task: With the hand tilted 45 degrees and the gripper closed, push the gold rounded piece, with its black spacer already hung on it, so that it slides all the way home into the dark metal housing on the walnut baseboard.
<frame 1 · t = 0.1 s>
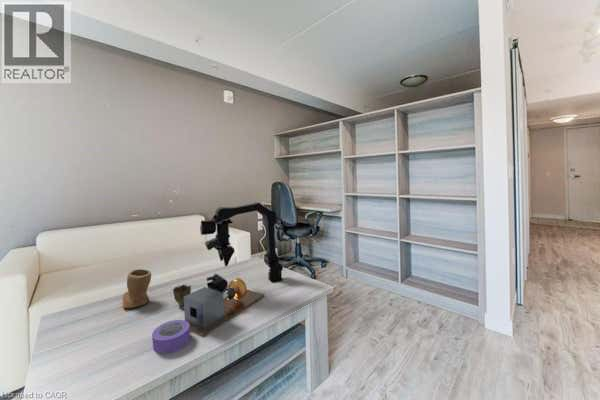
hand: (223, 263, 128), 15 cm above the table, tool pointing down, fingers open, 9 cm apart
tape roll: (172, 342, 90), on the table
brown boot: (137, 302, 119), on the table
housing: (215, 315, 106), on the table
gold rounded piece: (225, 295, 111), point 6 cm above the table, slide at 7.0 cm
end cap: (217, 290, 131), on the table
cup: (183, 304, 116), on the table
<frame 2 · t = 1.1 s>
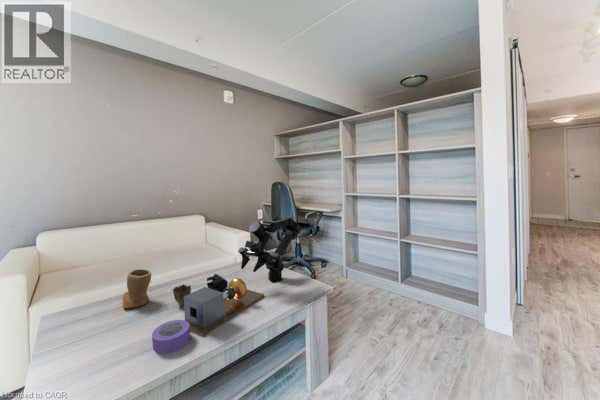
hand: (247, 270, 123), 13 cm above the table, tool tilted 45°, fingers open, 7 cm apart
nothing on the table moved.
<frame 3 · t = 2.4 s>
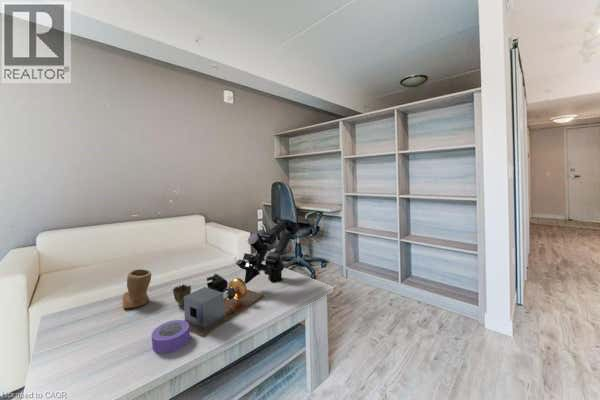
hand: (245, 283, 122), 7 cm above the table, tool tilted 45°, fingers closed
nothing on the table moved.
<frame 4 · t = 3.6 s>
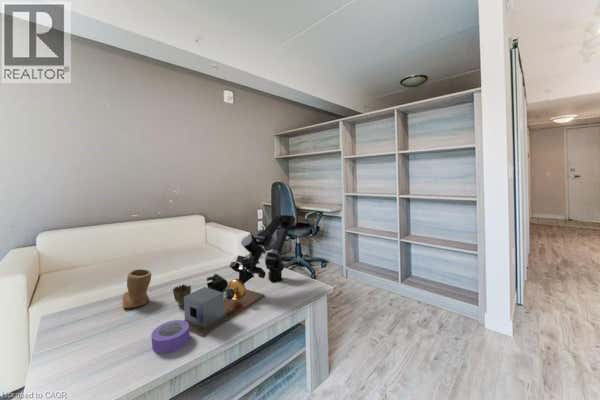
hand: (238, 286, 118), 7 cm above the table, tool tilted 45°, fingers closed, pressing on gold rounded piece
gold rounded piece: (224, 295, 110), point 7 cm above the table, slide at 6.3 cm, touching gripper
everything else where it was.
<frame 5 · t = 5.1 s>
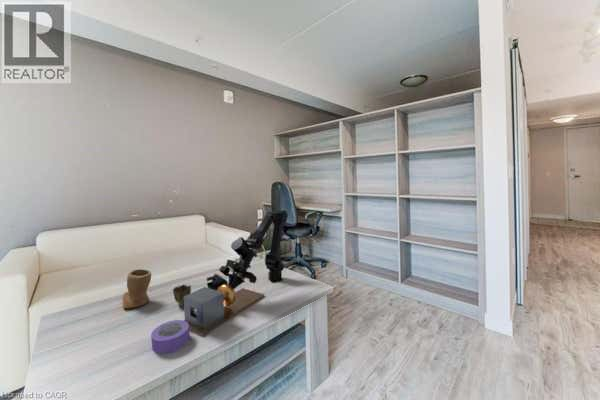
hand: (228, 292, 112), 7 cm above the table, tool tilted 45°, fingers closed, pressing on gold rounded piece
gold rounded piece: (212, 302, 105), point 6 cm above the table, slide at -0.1 cm, touching gripper
everything else where it was.
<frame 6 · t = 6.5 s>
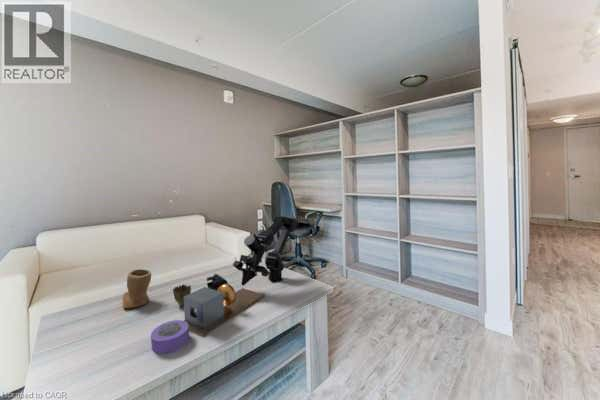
hand: (242, 285, 120), 7 cm above the table, tool tilted 45°, fingers closed
gold rounded piece: (212, 302, 105), point 6 cm above the table, slide at 0.0 cm
everything else where it was.
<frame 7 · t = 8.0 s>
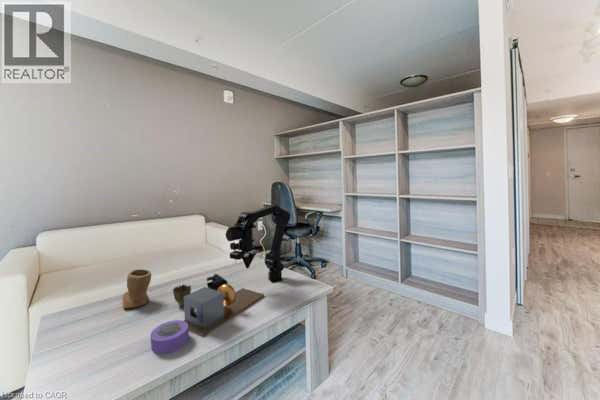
hand: (247, 268, 128), 12 cm above the table, tool pointing down, fingers closed
nothing on the table moved.
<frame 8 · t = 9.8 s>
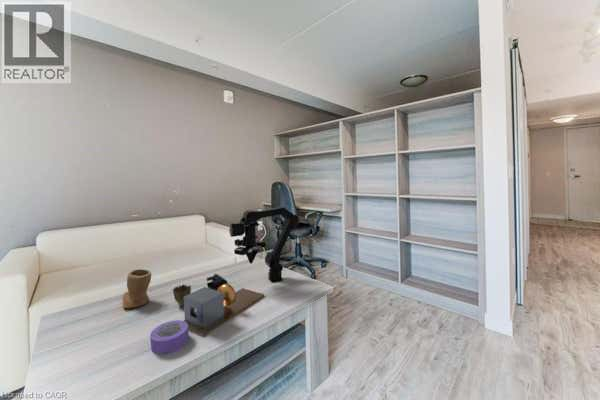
hand: (251, 263, 135), 12 cm above the table, tool pointing down, fingers closed
nothing on the table moved.
at the end: gold rounded piece slide at 0.0 cm; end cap moved 0.3 cm from its start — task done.
